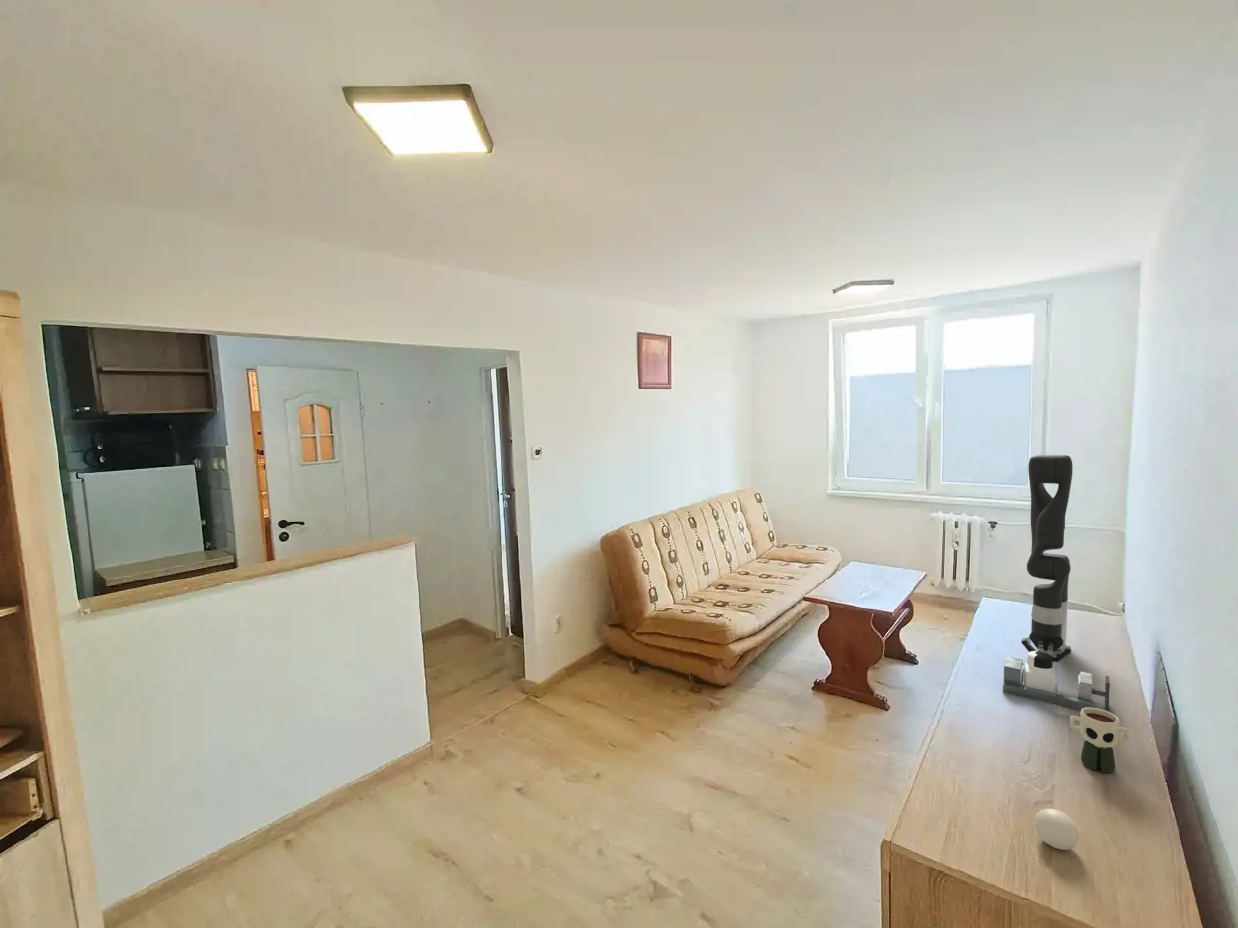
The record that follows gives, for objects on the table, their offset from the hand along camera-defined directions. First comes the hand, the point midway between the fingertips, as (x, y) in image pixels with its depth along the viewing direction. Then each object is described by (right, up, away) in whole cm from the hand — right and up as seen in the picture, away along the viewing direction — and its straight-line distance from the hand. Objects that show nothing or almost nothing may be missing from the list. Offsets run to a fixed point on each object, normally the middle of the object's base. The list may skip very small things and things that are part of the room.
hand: (1045, 671), depth 175 cm
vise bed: (-6, -4, -9) cm, 11 cm away
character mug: (-19, -8, -41) cm, 45 cm away
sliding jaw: (+3, -4, -14) cm, 15 cm away
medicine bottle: (-7, -4, -6) cm, 10 cm away
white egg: (-46, -11, -63) cm, 79 cm away
